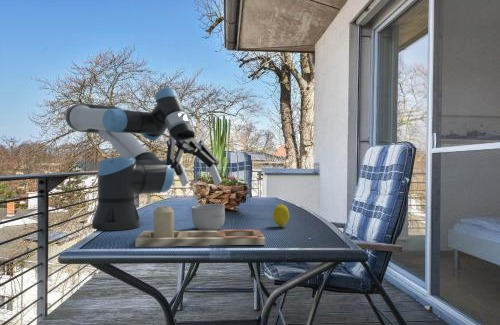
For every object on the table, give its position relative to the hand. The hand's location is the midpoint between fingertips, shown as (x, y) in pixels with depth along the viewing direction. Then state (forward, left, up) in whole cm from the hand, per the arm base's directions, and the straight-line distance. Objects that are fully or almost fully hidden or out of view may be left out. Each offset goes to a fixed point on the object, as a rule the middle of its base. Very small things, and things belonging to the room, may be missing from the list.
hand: (203, 183), depth 125 cm
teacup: (-5, +7, -16) cm, 18 cm away
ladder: (+9, -8, -15) cm, 19 cm away
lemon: (+9, +27, -16) cm, 32 cm away
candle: (+2, -16, -16) cm, 22 cm away
